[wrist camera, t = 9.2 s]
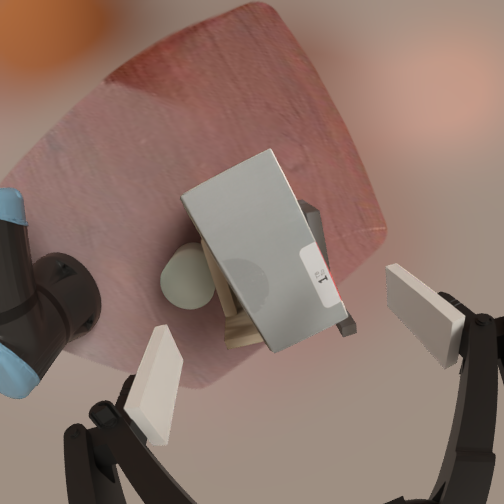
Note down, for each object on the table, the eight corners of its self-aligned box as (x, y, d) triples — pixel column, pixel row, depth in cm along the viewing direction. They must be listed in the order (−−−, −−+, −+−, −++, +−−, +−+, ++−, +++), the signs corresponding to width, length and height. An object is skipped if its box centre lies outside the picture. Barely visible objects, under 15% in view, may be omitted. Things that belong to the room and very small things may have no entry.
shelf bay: (229, 294, 44) (227, 366, 28) (208, 223, 41) (189, 266, 25) (316, 271, 44) (356, 332, 28) (302, 199, 40) (343, 226, 24)
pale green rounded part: (176, 289, 44) (166, 310, 37) (168, 244, 42) (155, 260, 35) (221, 285, 44) (218, 307, 37) (215, 240, 42) (211, 255, 35)
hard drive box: (303, 250, 43) (350, 320, 24) (256, 274, 44) (271, 359, 25) (254, 153, 38) (271, 147, 19) (204, 179, 39) (174, 199, 20)
